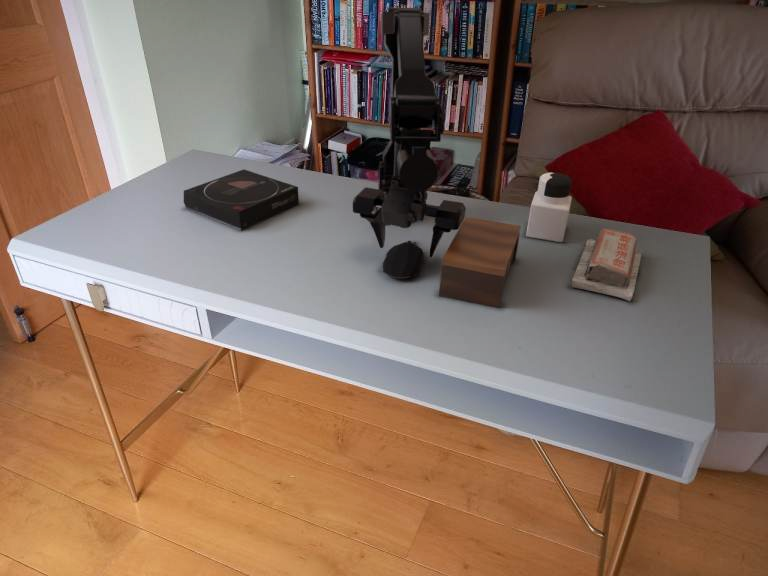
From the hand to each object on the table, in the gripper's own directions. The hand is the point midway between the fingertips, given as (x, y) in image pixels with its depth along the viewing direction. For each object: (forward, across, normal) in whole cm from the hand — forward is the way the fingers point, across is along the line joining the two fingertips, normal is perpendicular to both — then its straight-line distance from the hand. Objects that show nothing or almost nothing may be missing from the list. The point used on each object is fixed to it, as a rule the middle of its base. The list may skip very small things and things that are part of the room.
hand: (406, 251), depth 106 cm
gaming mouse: (+2, 0, 0) cm, 2 cm away
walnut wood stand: (+2, +14, -1) cm, 14 cm away
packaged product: (+2, +34, +10) cm, 36 cm away
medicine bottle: (+2, +22, +22) cm, 31 cm away
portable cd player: (+2, -40, +10) cm, 41 cm away
